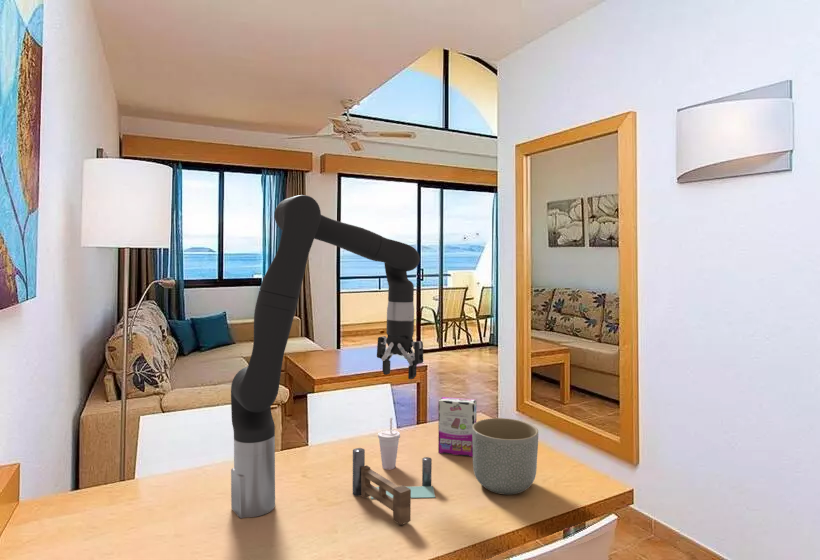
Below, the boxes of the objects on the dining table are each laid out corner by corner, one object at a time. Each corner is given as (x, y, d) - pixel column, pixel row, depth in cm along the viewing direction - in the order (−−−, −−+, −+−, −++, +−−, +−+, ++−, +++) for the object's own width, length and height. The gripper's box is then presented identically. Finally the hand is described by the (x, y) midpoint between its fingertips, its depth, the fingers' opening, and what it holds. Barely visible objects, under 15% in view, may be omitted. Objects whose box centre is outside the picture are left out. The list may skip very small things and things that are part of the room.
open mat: (370, 499, 124) (370, 498, 124) (371, 487, 130) (371, 487, 130) (435, 497, 124) (435, 497, 124) (432, 486, 130) (432, 486, 130)
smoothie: (399, 471, 140) (399, 422, 139) (376, 471, 140) (376, 421, 139) (400, 462, 146) (400, 414, 145) (378, 462, 146) (378, 414, 145)
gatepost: (356, 497, 124) (356, 453, 124) (350, 492, 127) (350, 449, 126) (366, 493, 126) (367, 450, 126) (360, 489, 129) (360, 447, 128)
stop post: (426, 488, 130) (426, 461, 129) (420, 484, 131) (420, 458, 131) (433, 485, 131) (433, 459, 131) (427, 482, 133) (427, 456, 133)
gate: (359, 496, 124) (359, 467, 123) (368, 493, 125) (368, 464, 125) (400, 525, 110) (400, 493, 110) (410, 521, 112) (410, 489, 112)
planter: (534, 506, 121) (535, 443, 120) (465, 495, 126) (466, 434, 125) (539, 477, 137) (540, 421, 136) (478, 468, 142) (479, 415, 141)
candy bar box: (476, 451, 155) (477, 399, 154) (474, 457, 150) (474, 403, 149) (441, 447, 158) (441, 395, 157) (437, 453, 153) (438, 400, 152)
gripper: (371, 317, 139) (370, 374, 140) (413, 321, 131) (412, 382, 132) (388, 315, 145) (386, 370, 146) (429, 319, 137) (428, 378, 138)
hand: (399, 376), depth 139 cm, fingers open, 8 cm apart
